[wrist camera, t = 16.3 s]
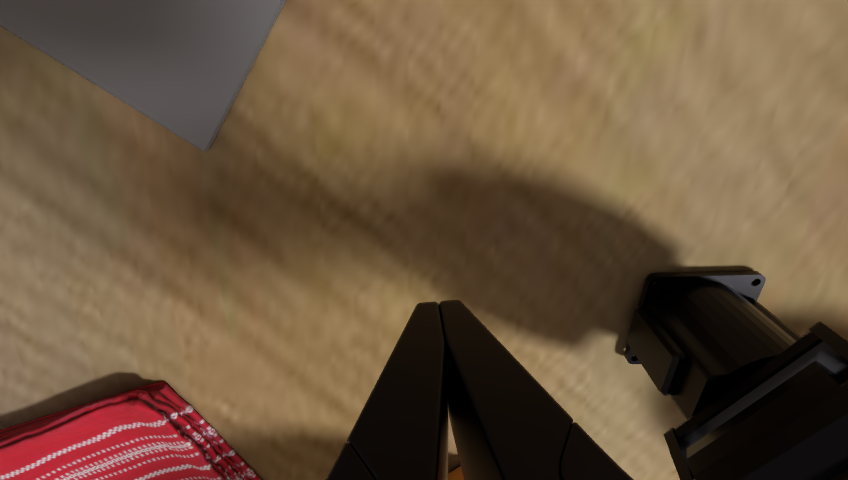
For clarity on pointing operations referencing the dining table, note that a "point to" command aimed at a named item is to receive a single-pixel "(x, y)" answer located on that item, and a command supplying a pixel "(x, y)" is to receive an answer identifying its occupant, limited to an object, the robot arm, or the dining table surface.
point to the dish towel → (121, 442)
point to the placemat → (154, 52)
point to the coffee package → (456, 474)
